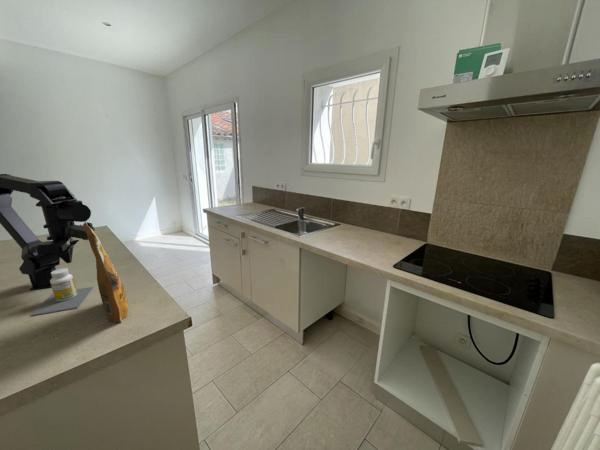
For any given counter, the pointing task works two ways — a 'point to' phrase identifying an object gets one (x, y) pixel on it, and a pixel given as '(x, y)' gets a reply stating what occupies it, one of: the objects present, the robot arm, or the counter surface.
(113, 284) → the pancake mix bag
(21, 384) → the counter surface
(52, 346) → the counter surface
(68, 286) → the supplement bottle
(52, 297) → the mat
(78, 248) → the counter surface
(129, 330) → the counter surface
